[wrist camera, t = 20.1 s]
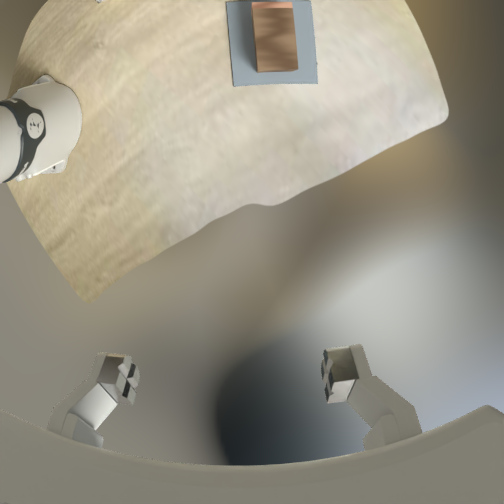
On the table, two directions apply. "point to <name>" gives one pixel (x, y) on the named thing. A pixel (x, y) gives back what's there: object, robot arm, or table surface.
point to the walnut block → (274, 37)
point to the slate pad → (245, 47)
